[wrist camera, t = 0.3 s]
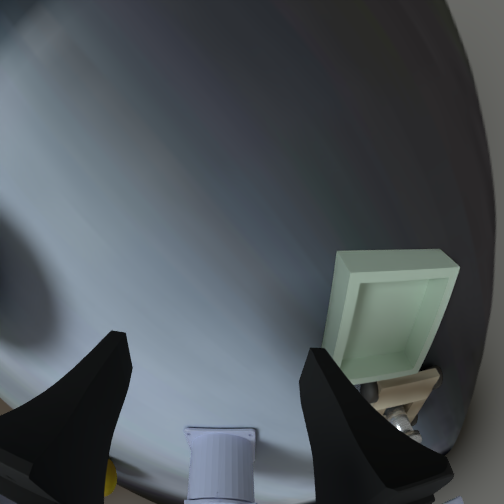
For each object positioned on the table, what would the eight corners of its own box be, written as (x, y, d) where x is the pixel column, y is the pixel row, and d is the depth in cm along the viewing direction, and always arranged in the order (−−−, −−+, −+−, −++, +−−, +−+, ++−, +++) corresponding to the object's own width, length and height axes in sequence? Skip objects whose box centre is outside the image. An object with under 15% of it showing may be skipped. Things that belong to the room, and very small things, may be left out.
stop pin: (395, 402, 30) (414, 449, 24) (372, 407, 30) (389, 456, 23) (404, 386, 28) (426, 434, 22) (380, 391, 28) (400, 442, 22)
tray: (405, 351, 26) (417, 373, 23) (318, 362, 25) (324, 388, 23) (439, 248, 21) (460, 267, 18) (336, 250, 21) (350, 272, 18)
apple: (91, 444, 33) (79, 487, 26) (127, 461, 35) (119, 504, 28) (78, 451, 35) (67, 489, 28) (111, 467, 37) (103, 505, 30)
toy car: (402, 420, 32) (408, 435, 30) (340, 432, 32) (344, 449, 30) (437, 358, 27) (447, 374, 24) (365, 371, 26) (373, 391, 24)
